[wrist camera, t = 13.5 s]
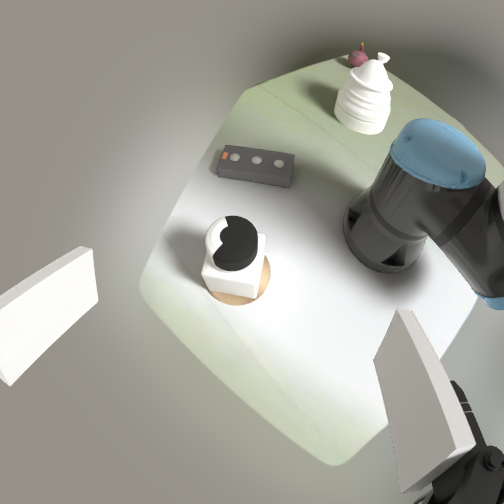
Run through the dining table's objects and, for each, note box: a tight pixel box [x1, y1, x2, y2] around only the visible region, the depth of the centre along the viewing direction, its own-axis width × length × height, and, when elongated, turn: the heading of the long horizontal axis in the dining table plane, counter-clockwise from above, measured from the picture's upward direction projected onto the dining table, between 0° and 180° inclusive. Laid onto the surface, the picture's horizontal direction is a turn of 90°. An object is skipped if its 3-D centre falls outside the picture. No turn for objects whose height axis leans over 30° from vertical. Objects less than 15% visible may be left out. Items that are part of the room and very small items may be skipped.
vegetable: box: [348, 43, 368, 67], centre depth 65 cm, size 6×6×10 cm
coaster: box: [205, 255, 270, 305], centre depth 43 cm, size 10×10×1 cm
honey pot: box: [334, 53, 393, 134], centre depth 50 cm, size 13×13×18 cm
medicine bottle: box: [201, 216, 266, 299], centre depth 37 cm, size 7×7×12 cm
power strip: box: [217, 145, 295, 188], centre depth 50 cm, size 13×6×3 cm, turn 78°
